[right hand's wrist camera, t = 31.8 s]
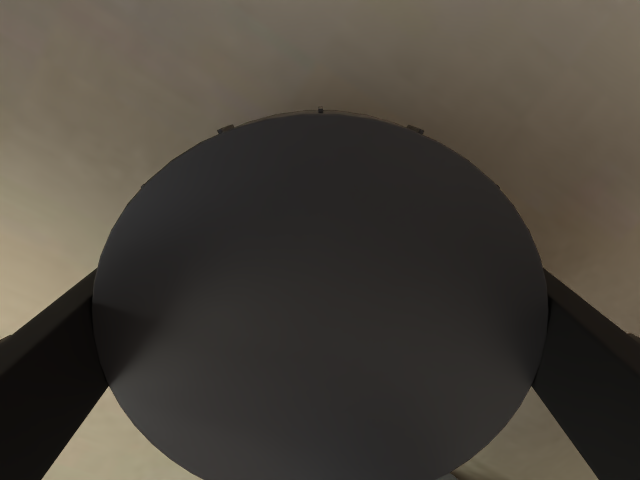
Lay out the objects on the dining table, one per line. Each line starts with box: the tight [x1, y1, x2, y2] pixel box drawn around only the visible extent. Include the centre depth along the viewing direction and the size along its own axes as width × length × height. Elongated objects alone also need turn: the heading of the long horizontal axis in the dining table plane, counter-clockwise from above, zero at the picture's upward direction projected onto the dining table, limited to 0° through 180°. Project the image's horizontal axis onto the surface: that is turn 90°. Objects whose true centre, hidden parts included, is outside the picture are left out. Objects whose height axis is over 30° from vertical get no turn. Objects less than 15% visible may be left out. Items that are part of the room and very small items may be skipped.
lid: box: [92, 107, 549, 480], centre depth 11 cm, size 12×12×2 cm
